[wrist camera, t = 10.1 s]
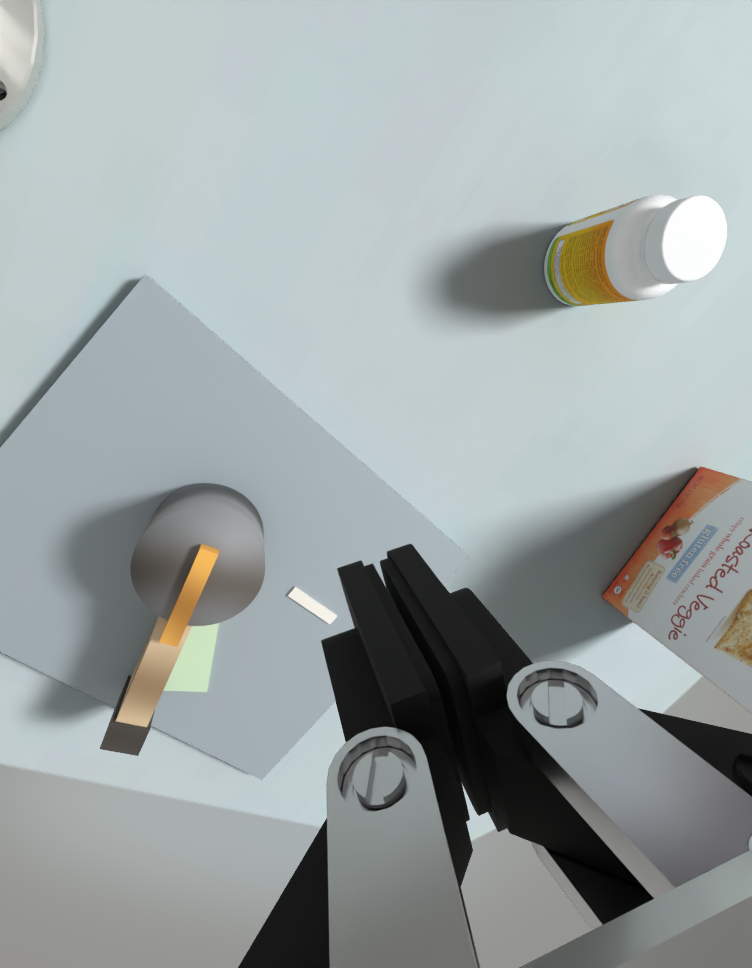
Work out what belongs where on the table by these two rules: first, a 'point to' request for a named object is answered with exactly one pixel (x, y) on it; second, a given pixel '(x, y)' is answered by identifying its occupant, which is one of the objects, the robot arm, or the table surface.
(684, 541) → the cracker box
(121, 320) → the board
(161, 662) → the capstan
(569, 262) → the supplement bottle
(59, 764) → the table surface
